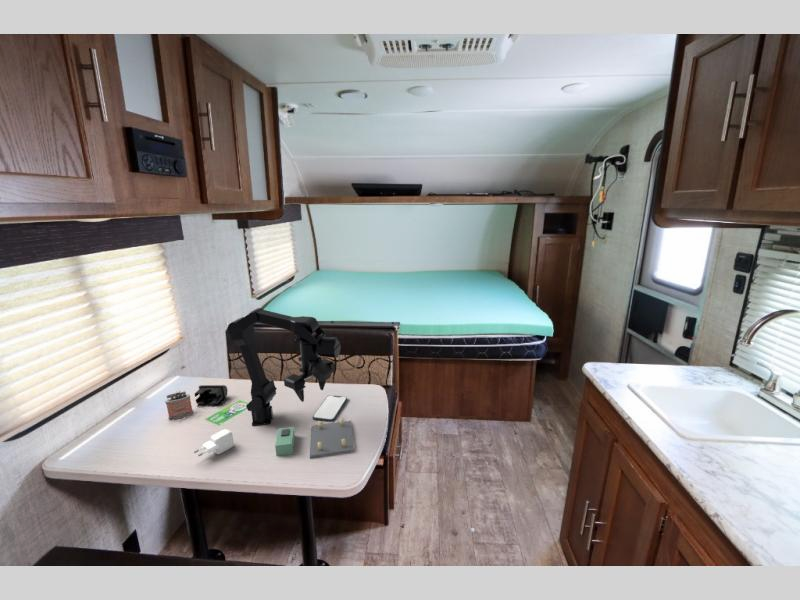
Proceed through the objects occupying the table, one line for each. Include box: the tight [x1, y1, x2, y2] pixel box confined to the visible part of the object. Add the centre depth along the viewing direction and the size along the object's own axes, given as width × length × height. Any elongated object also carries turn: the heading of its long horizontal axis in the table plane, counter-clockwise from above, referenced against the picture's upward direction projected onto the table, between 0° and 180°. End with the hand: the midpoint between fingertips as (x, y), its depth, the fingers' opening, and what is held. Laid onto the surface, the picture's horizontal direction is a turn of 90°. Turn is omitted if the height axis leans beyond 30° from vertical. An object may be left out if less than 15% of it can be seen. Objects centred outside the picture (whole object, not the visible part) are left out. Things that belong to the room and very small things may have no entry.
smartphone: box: [312, 394, 348, 423], centre depth 142 cm, size 9×2×16 cm
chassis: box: [309, 417, 355, 459], centre depth 124 cm, size 14×16×4 cm
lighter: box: [164, 390, 194, 421], centre depth 138 cm, size 8×3×10 cm, turn 123°
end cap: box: [194, 384, 228, 407], centre depth 147 cm, size 10×7×7 cm
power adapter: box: [193, 428, 235, 457], centre depth 117 cm, size 11×5×6 cm, turn 143°
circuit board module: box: [274, 426, 296, 457], centre depth 121 cm, size 5×9×4 cm, turn 11°
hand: (312, 395), depth 128 cm, fingers open, 9 cm apart
